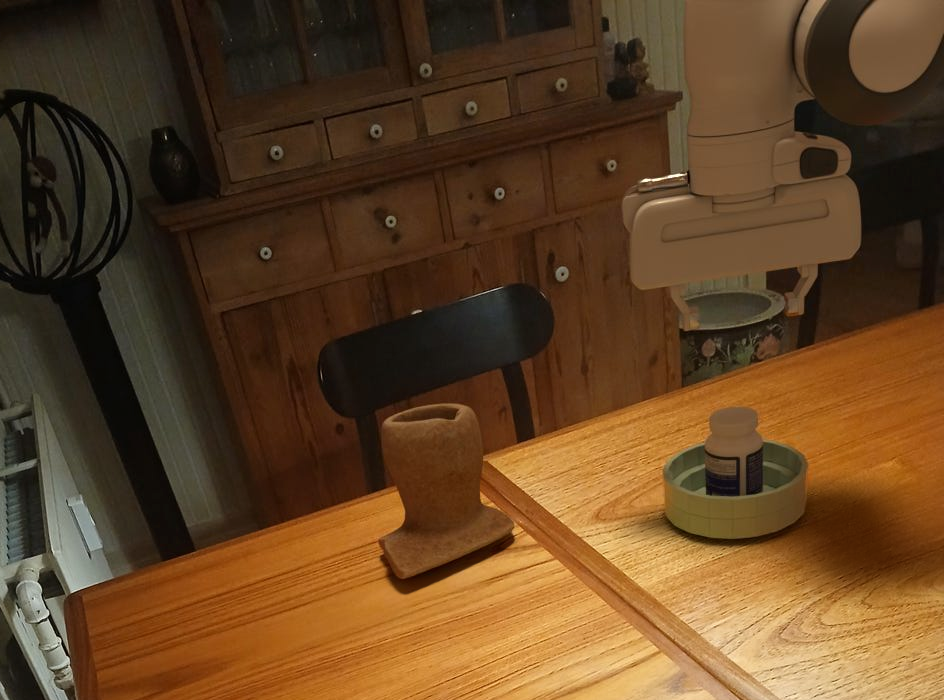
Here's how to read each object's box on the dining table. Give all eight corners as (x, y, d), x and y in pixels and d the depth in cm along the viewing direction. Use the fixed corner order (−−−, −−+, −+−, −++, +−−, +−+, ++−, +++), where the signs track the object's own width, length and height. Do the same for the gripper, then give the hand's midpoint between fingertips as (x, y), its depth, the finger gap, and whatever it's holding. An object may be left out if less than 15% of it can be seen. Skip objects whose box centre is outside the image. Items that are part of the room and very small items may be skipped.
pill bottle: (748, 488, 105) (749, 399, 100) (771, 510, 100) (774, 419, 95) (697, 499, 105) (695, 411, 99) (718, 522, 100) (717, 431, 95)
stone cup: (472, 505, 113) (451, 379, 105) (530, 540, 104) (513, 406, 96) (355, 553, 108) (324, 425, 99) (407, 594, 99) (377, 457, 91)
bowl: (791, 474, 108) (792, 431, 105) (818, 536, 96) (821, 490, 93) (659, 487, 110) (657, 445, 107) (671, 550, 98) (669, 505, 95)
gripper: (621, 189, 84) (633, 347, 92) (871, 147, 81) (862, 315, 89) (617, 176, 89) (629, 326, 97) (852, 136, 86) (845, 295, 94)
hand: (742, 321), depth 93 cm, fingers open, 8 cm apart
